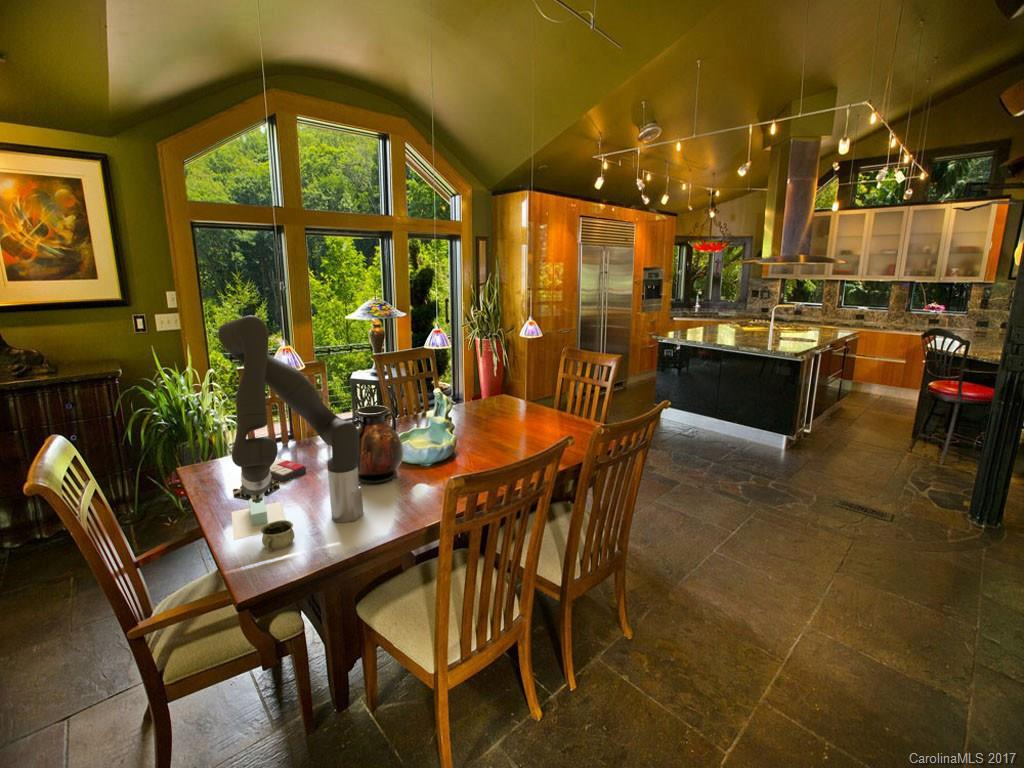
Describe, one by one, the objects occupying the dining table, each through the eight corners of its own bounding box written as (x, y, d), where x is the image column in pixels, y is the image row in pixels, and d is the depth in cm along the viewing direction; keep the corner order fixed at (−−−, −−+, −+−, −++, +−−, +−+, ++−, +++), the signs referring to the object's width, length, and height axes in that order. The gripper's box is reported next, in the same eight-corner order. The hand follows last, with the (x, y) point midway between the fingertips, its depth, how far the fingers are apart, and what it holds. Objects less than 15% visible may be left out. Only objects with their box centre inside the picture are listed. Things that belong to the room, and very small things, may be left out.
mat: (288, 528, 156) (288, 526, 156) (234, 541, 149) (234, 539, 149) (280, 503, 173) (280, 501, 173) (231, 514, 165) (231, 512, 165)
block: (266, 511, 157) (261, 489, 168) (251, 514, 154) (247, 492, 166) (267, 523, 158) (263, 500, 169) (252, 526, 156) (248, 503, 167)
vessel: (276, 535, 153) (274, 516, 151) (304, 536, 152) (302, 518, 151) (253, 556, 141) (250, 537, 140) (282, 558, 140) (280, 538, 139)
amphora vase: (386, 462, 210) (383, 399, 203) (415, 478, 195) (412, 409, 188) (338, 477, 195) (332, 409, 189) (365, 494, 180) (360, 421, 174)
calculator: (282, 474, 189) (256, 465, 196) (283, 485, 190) (257, 475, 197) (306, 465, 199) (280, 456, 205) (306, 474, 200) (281, 466, 206)
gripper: (279, 461, 146) (278, 484, 159) (228, 470, 139) (231, 493, 152) (283, 484, 143) (282, 506, 156) (231, 494, 136) (234, 516, 149)
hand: (257, 500), depth 154 cm, fingers closed
